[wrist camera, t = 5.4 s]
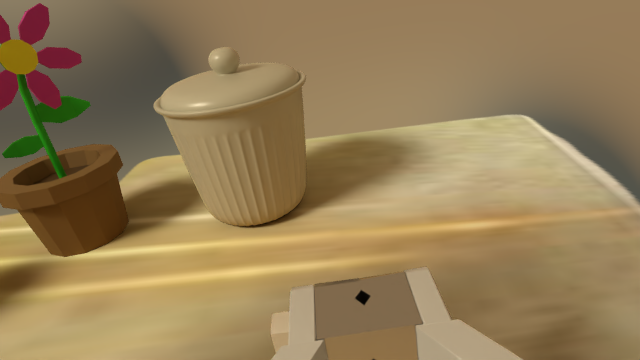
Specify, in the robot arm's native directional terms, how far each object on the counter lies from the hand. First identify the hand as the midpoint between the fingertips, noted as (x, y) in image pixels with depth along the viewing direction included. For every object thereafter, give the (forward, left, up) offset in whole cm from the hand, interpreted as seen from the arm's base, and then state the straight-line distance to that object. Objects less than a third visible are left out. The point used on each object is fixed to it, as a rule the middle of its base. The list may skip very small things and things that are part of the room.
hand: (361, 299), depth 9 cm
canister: (-33, +30, -21) cm, 49 cm away
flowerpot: (-52, +16, -21) cm, 59 cm away
